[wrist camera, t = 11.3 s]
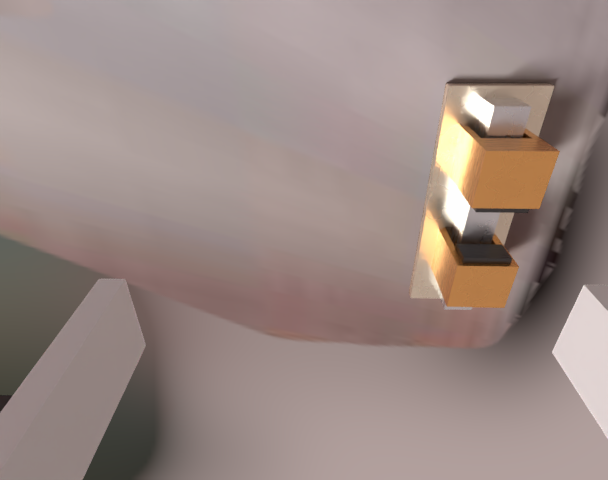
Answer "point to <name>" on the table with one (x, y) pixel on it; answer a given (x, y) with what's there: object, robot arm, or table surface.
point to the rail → (482, 169)
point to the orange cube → (473, 272)
